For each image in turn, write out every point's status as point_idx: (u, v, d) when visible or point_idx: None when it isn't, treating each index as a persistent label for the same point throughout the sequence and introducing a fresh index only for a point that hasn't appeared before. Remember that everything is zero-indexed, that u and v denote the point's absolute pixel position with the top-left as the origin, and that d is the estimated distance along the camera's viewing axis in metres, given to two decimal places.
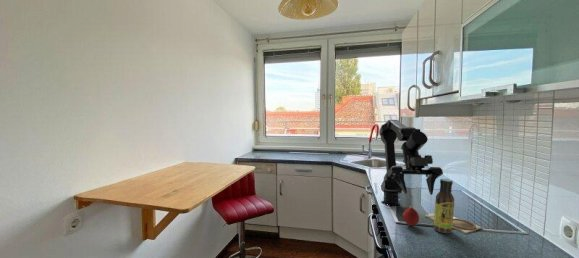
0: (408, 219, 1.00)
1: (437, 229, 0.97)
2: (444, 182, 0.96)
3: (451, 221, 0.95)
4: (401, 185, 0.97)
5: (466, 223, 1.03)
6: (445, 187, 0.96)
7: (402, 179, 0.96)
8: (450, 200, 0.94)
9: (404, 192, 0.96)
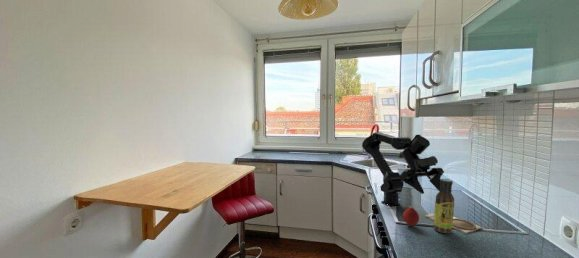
0: (408, 219, 1.00)
1: (437, 229, 0.97)
2: (444, 182, 0.96)
3: (451, 221, 0.95)
4: (416, 186, 1.03)
5: (466, 223, 1.03)
6: (445, 187, 0.96)
7: (417, 180, 1.03)
8: (450, 200, 0.94)
9: (421, 192, 1.02)
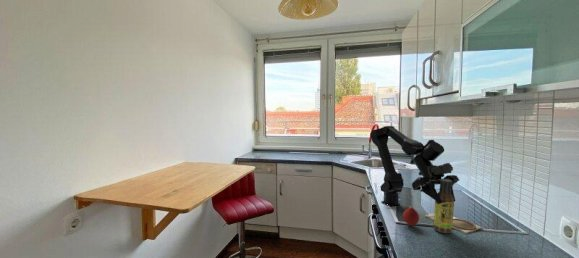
0: (408, 219, 1.00)
1: (437, 229, 0.97)
2: (444, 182, 0.96)
3: (451, 221, 0.95)
4: (433, 195, 0.97)
5: (466, 223, 1.03)
6: (444, 187, 0.96)
7: (434, 189, 0.97)
8: (449, 200, 0.94)
9: (438, 202, 0.96)
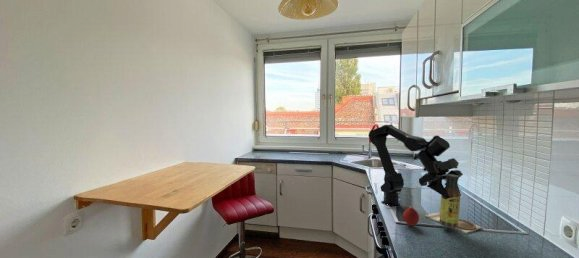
0: (408, 219, 1.00)
1: (444, 224, 0.98)
2: (451, 177, 0.96)
3: (458, 215, 0.96)
4: (441, 191, 0.97)
5: (466, 223, 1.03)
6: (451, 182, 0.96)
7: (441, 184, 0.97)
8: (457, 195, 0.95)
9: (446, 197, 0.96)
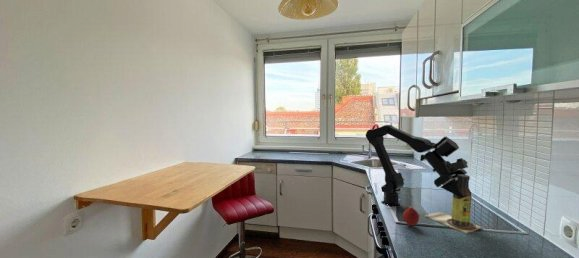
0: (408, 219, 1.00)
1: (458, 223, 1.01)
2: (464, 178, 1.00)
3: None
4: (455, 191, 0.99)
5: None
6: (464, 182, 1.00)
7: (455, 184, 0.99)
8: (470, 194, 0.99)
9: (460, 197, 0.99)
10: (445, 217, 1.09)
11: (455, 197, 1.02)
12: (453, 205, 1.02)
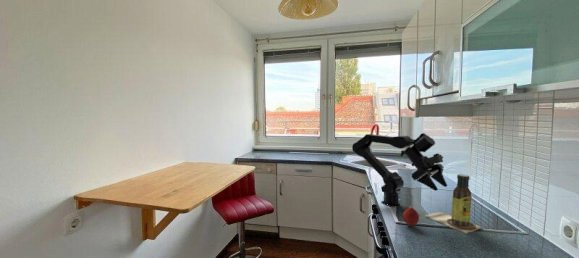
0: (408, 219, 1.00)
1: (458, 223, 1.01)
2: (464, 177, 1.00)
3: None
4: (430, 184, 1.06)
5: None
6: (464, 182, 1.00)
7: (430, 178, 1.06)
8: (469, 194, 0.99)
9: (434, 189, 1.05)
10: (445, 217, 1.09)
11: (455, 197, 1.02)
12: (453, 205, 1.03)
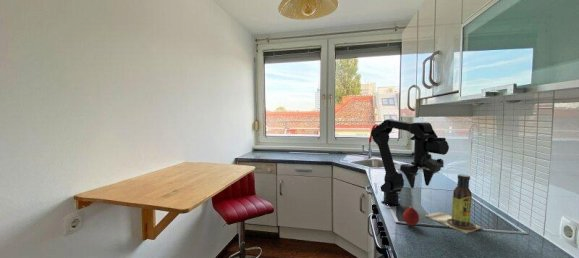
0: (408, 219, 1.00)
1: (458, 223, 1.01)
2: (464, 177, 1.00)
3: None
4: (410, 180, 1.09)
5: None
6: (464, 182, 1.00)
7: (414, 177, 1.08)
8: (470, 194, 0.99)
9: (411, 186, 1.10)
10: (445, 217, 1.09)
11: (455, 197, 1.02)
12: (453, 205, 1.02)
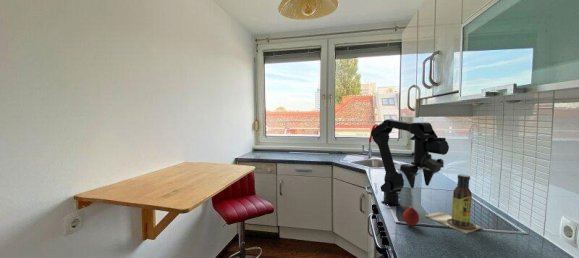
0: (408, 219, 1.00)
1: (458, 223, 1.01)
2: (464, 178, 1.00)
3: None
4: (410, 180, 1.09)
5: None
6: (464, 182, 1.00)
7: (414, 177, 1.08)
8: (470, 194, 0.99)
9: (411, 186, 1.10)
10: (445, 217, 1.09)
11: (455, 197, 1.02)
12: (453, 205, 1.02)
